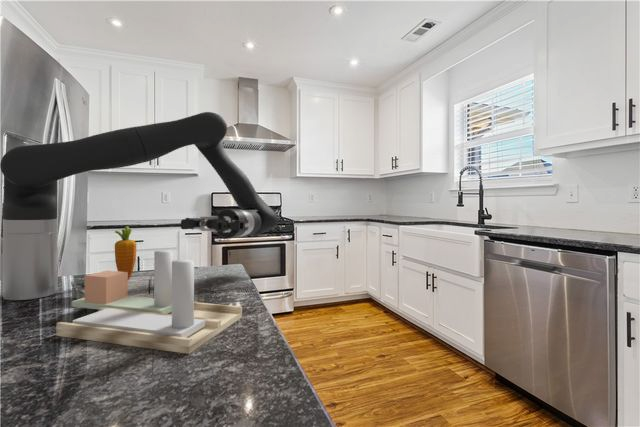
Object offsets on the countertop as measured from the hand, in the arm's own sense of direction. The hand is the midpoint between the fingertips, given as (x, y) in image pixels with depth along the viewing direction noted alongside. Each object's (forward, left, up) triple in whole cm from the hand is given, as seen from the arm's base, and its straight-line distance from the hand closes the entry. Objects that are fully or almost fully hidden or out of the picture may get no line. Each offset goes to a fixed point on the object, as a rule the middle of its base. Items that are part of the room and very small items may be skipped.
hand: (199, 225), depth 72 cm
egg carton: (-23, -5, -17) cm, 29 cm away
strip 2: (-8, -11, -15) cm, 21 cm away
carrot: (-28, +9, -17) cm, 34 cm away
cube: (-13, -11, -14) cm, 22 cm away
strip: (+2, -19, -15) cm, 25 cm away
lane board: (+2, -15, -17) cm, 23 cm away
